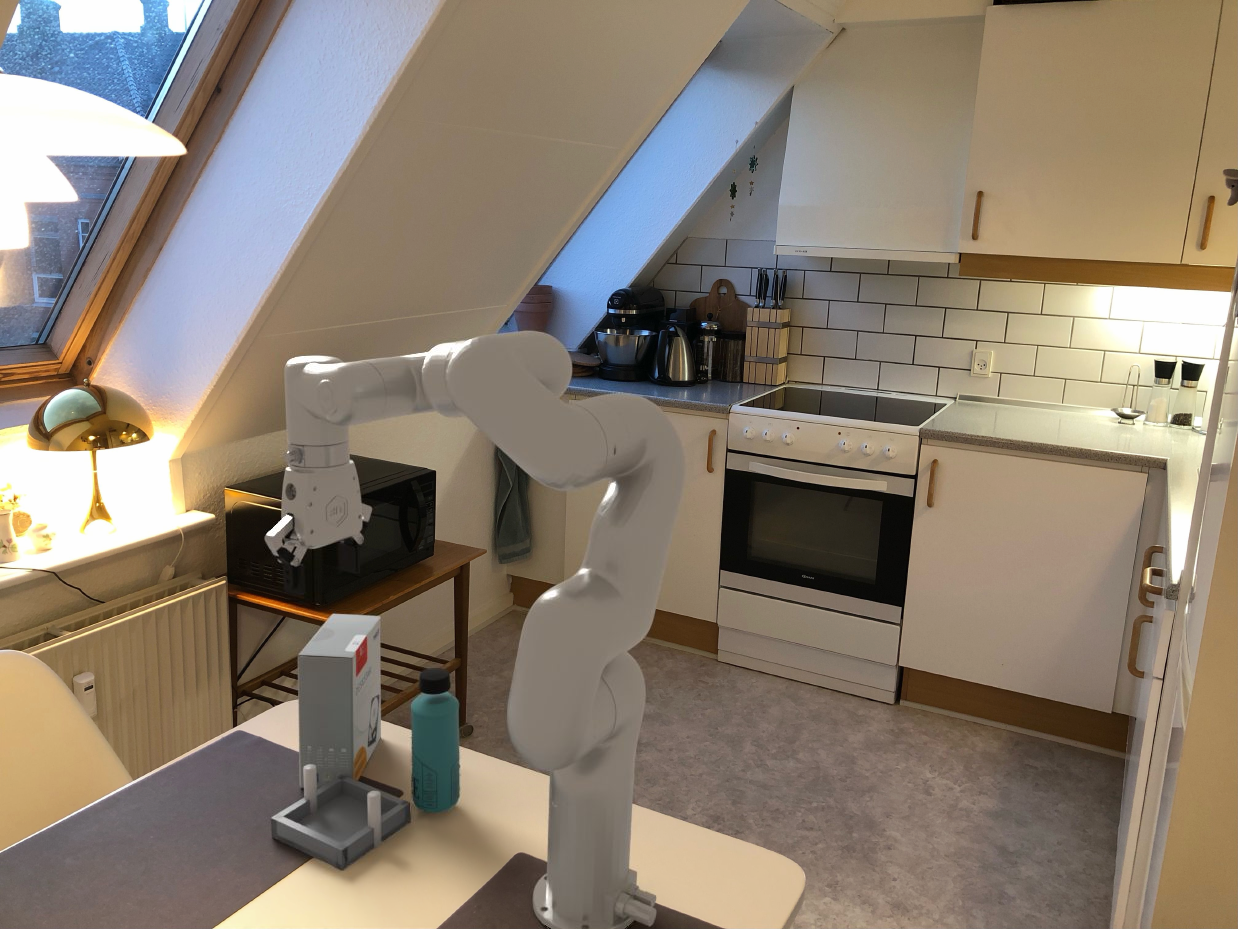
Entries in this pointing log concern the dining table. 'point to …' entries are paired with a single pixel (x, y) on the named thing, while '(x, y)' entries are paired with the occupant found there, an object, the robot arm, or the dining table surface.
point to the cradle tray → (339, 819)
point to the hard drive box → (340, 697)
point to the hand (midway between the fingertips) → (323, 581)
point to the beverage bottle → (435, 743)
